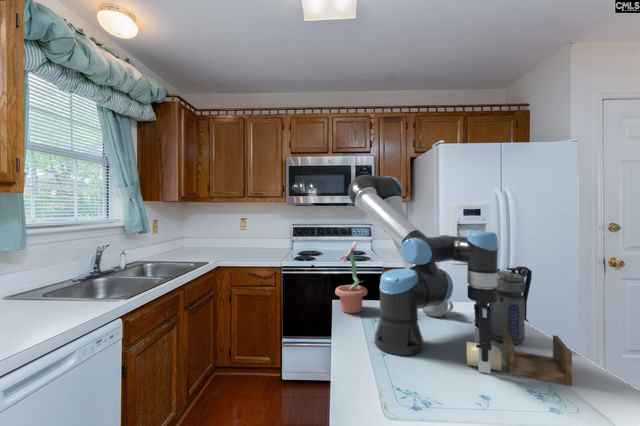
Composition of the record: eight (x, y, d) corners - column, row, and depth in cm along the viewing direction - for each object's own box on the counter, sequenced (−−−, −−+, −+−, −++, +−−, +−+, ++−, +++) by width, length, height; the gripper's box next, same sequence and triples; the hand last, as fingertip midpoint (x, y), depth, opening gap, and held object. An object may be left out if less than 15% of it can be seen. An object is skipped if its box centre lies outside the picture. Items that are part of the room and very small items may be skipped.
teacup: (415, 311, 126) (415, 292, 126) (436, 309, 129) (436, 290, 129) (437, 323, 113) (437, 302, 113) (460, 320, 116) (460, 299, 116)
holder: (509, 373, 78) (509, 343, 78) (502, 355, 88) (503, 328, 88) (571, 385, 73) (571, 353, 73) (557, 364, 83) (557, 335, 83)
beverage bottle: (539, 347, 93) (540, 267, 93) (494, 344, 95) (494, 266, 95) (522, 333, 103) (522, 262, 103) (481, 331, 105) (481, 261, 105)
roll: (466, 365, 84) (466, 363, 80) (465, 342, 87) (466, 340, 82) (499, 371, 81) (502, 370, 76) (498, 348, 84) (501, 345, 79)
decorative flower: (337, 304, 136) (337, 238, 136) (367, 305, 134) (367, 239, 134) (333, 315, 121) (333, 242, 121) (367, 317, 119) (367, 242, 119)
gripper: (504, 299, 71) (504, 387, 72) (492, 278, 94) (491, 344, 94) (469, 295, 75) (469, 379, 75) (465, 275, 97) (465, 340, 97)
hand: (482, 360), depth 85 cm, fingers open, 13 cm apart
